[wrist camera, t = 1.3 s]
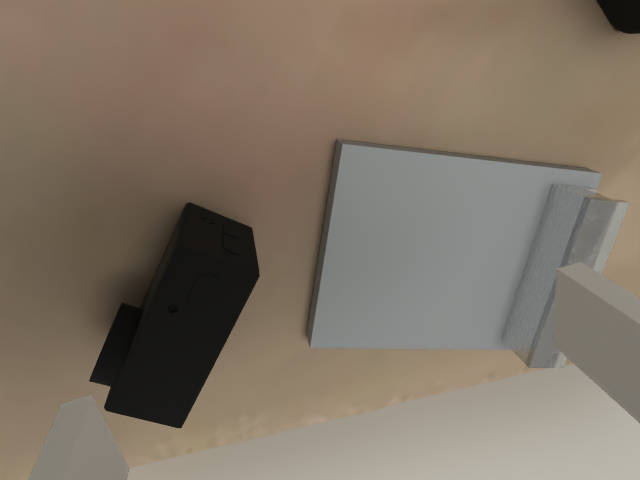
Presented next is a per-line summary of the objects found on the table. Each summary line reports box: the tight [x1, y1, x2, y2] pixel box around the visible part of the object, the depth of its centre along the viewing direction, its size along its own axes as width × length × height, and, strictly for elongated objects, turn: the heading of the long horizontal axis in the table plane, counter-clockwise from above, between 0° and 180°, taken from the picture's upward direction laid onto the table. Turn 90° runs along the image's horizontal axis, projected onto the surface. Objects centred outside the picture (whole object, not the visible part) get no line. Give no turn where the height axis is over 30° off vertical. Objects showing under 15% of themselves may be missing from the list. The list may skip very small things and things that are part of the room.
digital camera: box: [89, 203, 260, 428], centre depth 27 cm, size 10×5×7 cm, turn 152°
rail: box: [501, 183, 630, 368], centre depth 31 cm, size 3×12×4 cm, turn 172°
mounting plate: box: [307, 139, 602, 350], centre depth 32 cm, size 18×14×2 cm
